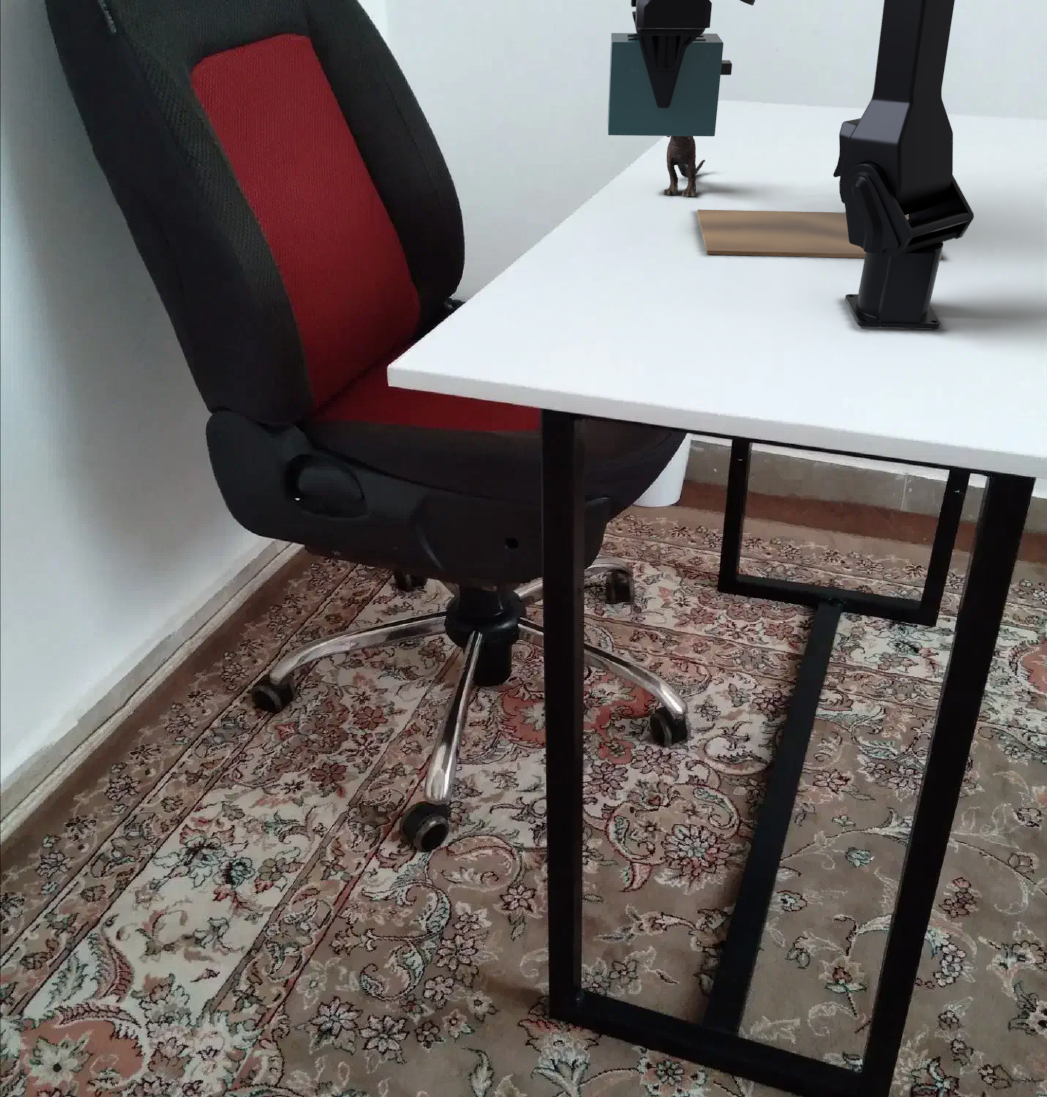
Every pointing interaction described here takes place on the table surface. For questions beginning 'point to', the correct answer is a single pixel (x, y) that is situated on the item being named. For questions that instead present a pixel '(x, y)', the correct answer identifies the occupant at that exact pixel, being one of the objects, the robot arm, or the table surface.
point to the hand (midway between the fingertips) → (661, 101)
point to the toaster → (691, 97)
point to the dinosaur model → (682, 163)
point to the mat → (777, 233)
